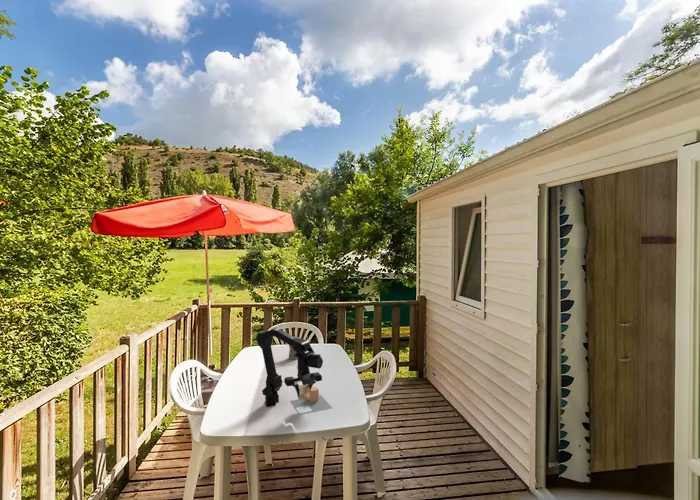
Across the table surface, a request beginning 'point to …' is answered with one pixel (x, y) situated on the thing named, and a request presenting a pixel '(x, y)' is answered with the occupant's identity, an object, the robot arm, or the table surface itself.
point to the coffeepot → (292, 351)
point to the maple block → (304, 392)
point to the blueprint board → (310, 405)
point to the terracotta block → (314, 394)
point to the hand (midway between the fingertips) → (303, 395)
